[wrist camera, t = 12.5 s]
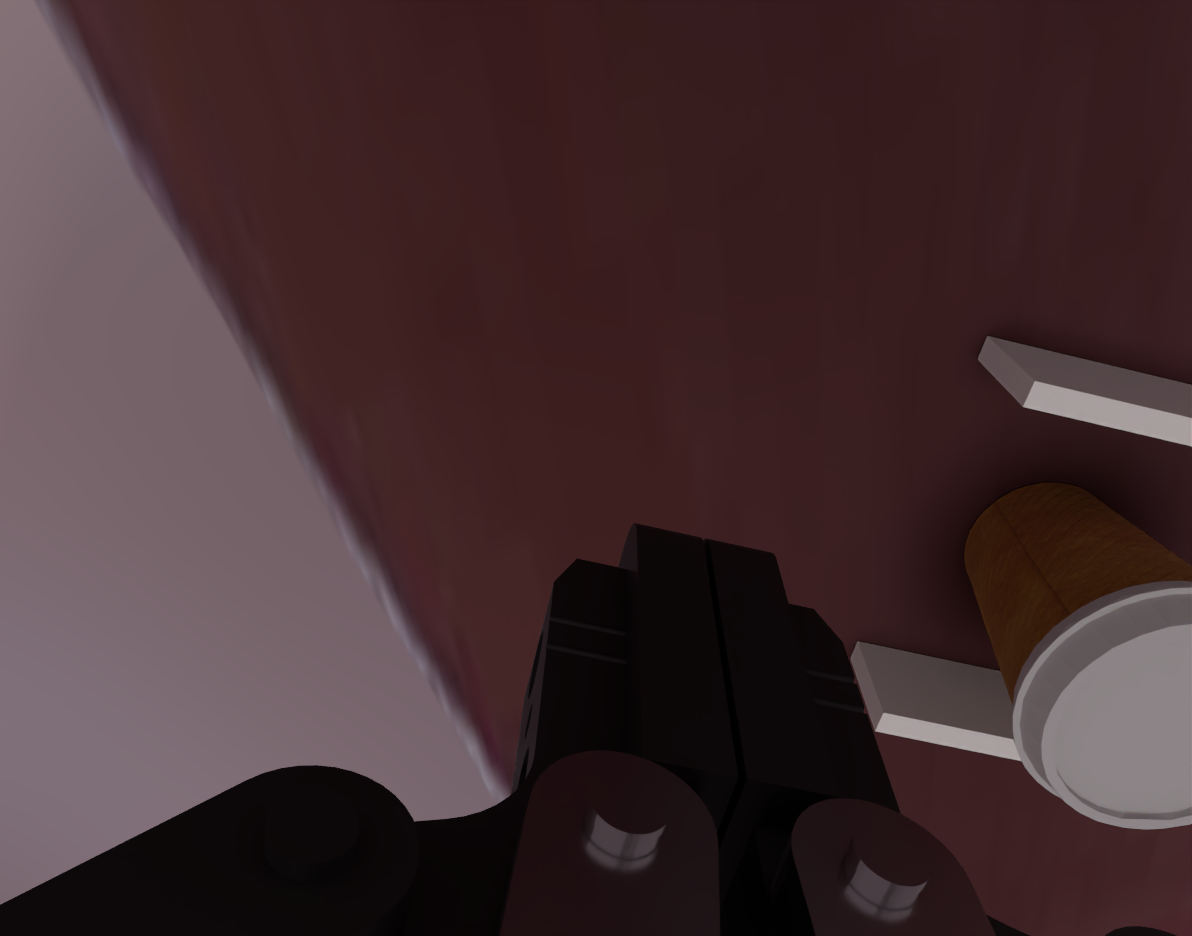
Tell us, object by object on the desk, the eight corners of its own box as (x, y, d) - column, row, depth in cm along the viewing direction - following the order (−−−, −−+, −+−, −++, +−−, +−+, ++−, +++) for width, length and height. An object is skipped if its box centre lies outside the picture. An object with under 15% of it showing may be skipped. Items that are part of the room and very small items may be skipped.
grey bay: (987, 335, 39) (1034, 380, 35) (1335, 419, 40) (1425, 473, 36) (850, 658, 46) (874, 731, 42) (1152, 721, 47) (1207, 798, 43)
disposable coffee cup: (1163, 602, 44) (1338, 800, 34) (950, 660, 46) (1051, 866, 35) (1135, 416, 41) (1323, 572, 30) (904, 486, 42) (1001, 658, 31)
